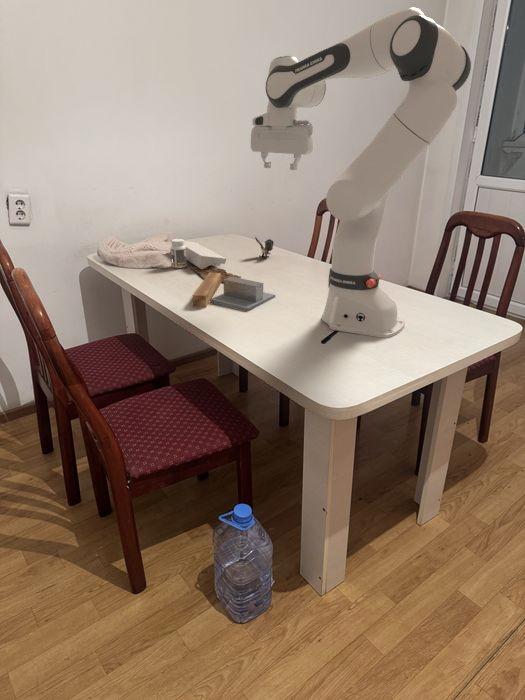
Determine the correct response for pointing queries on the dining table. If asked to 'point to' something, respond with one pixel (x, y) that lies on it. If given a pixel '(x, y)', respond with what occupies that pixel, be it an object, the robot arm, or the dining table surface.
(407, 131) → the robot arm
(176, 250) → the pill bottle
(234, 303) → the ridge board
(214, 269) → the wooden fragment
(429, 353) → the dining table surface
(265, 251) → the eagle figurine
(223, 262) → the decorative molding
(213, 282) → the wood batten
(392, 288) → the dining table surface
